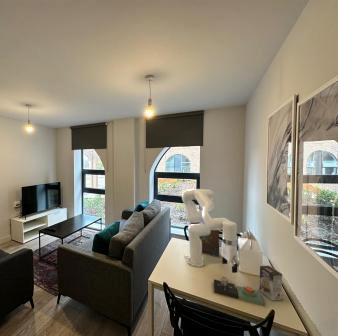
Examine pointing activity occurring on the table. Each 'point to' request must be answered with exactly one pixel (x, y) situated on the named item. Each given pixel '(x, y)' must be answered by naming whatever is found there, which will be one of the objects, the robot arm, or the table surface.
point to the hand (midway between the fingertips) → (229, 268)
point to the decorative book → (210, 242)
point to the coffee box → (270, 282)
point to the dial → (224, 282)
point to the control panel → (225, 289)
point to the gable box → (249, 254)
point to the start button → (249, 289)
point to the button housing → (249, 295)
